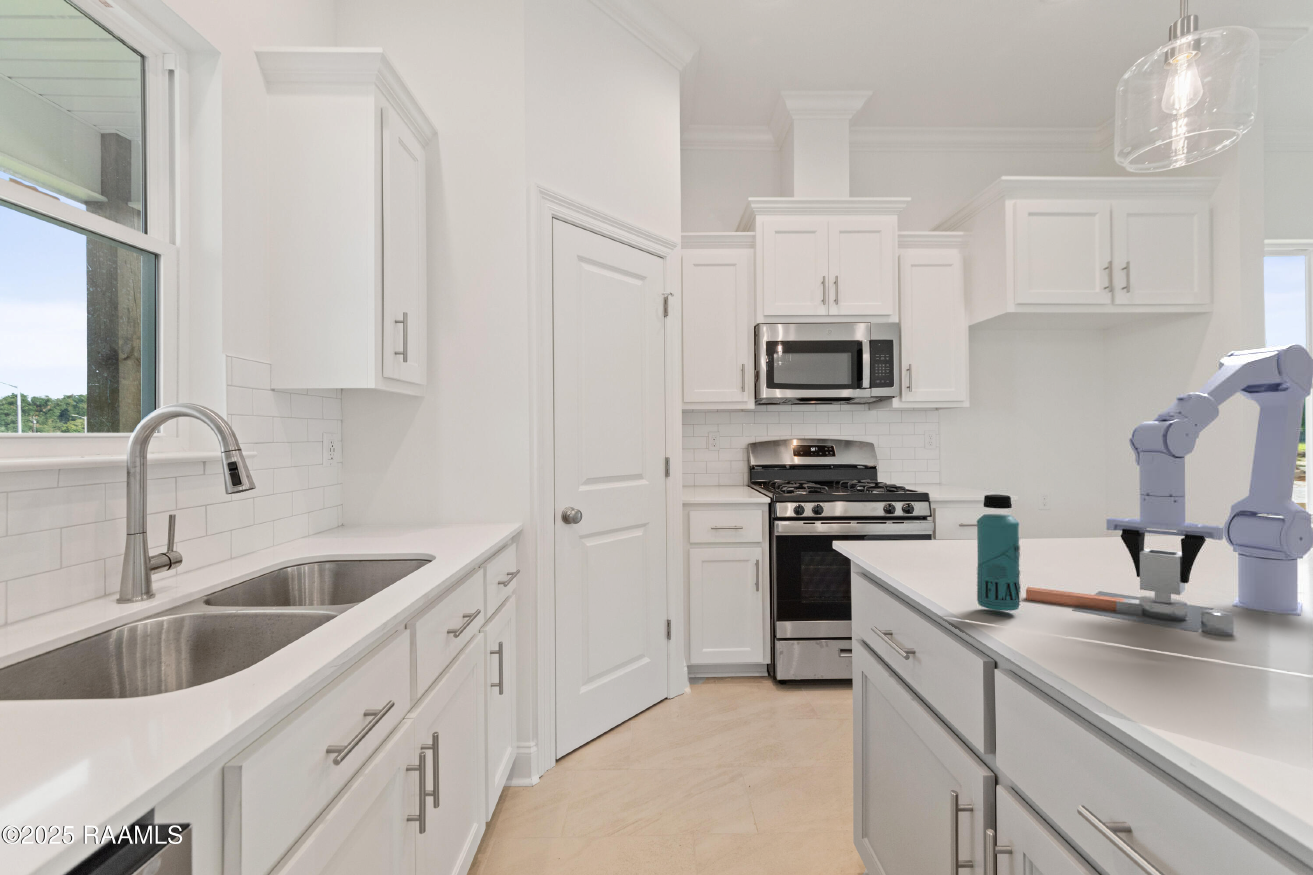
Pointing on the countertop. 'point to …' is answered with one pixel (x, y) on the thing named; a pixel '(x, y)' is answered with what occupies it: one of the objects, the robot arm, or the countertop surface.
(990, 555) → the beverage bottle
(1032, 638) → the countertop surface
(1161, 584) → the socket
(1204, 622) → the socket
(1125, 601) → the ratchet
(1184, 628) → the mat
